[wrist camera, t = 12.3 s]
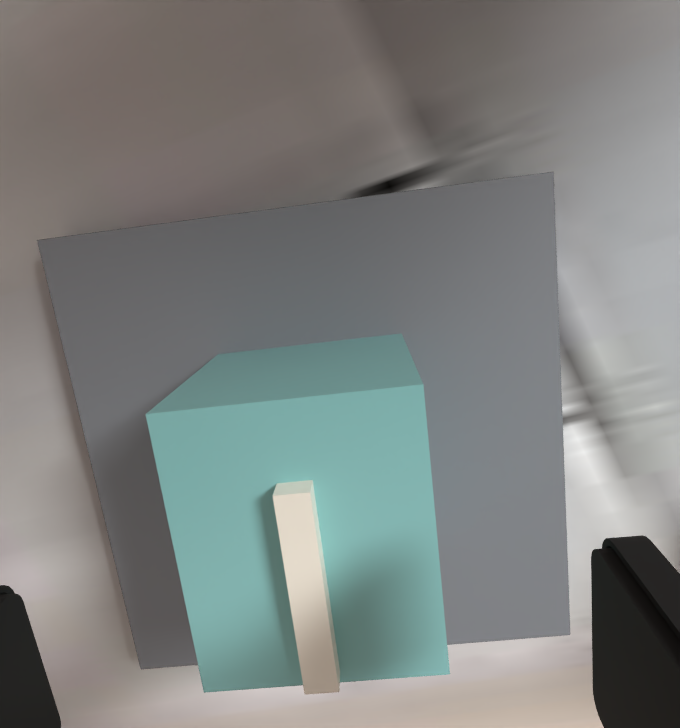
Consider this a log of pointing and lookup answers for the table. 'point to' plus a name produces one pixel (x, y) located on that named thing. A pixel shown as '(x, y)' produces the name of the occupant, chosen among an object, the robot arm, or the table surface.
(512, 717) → the table surface
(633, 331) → the table surface
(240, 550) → the teal block
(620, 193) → the table surface
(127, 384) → the grey flat block
